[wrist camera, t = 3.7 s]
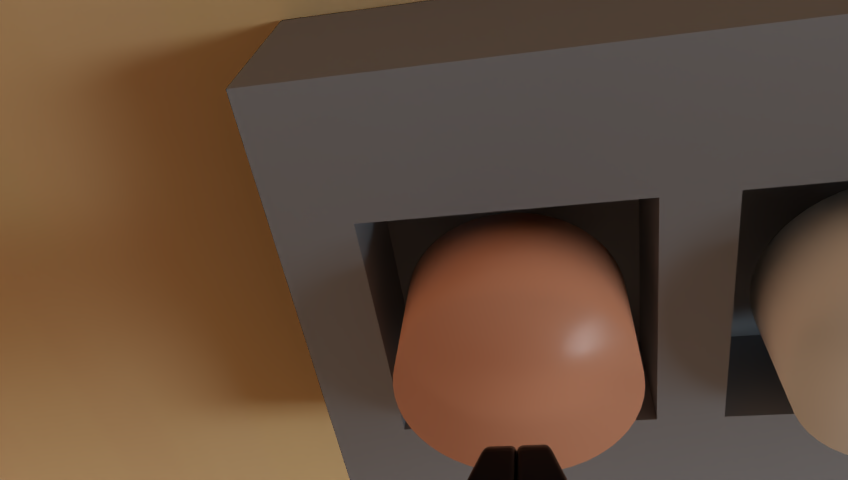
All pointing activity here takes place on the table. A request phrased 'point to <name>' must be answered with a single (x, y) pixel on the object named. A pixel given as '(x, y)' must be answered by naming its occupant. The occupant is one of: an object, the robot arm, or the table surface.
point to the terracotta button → (518, 342)
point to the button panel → (556, 195)
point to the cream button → (809, 316)
